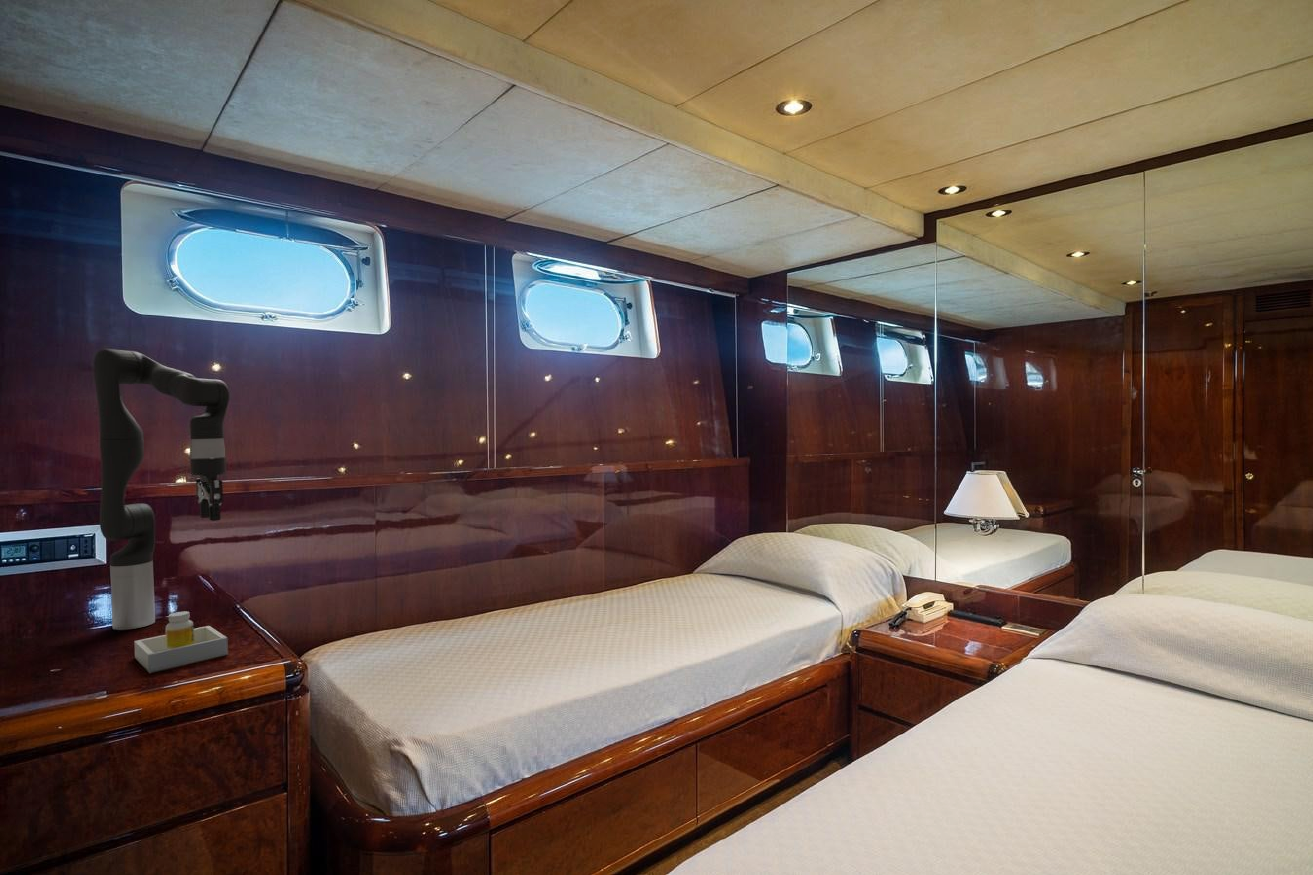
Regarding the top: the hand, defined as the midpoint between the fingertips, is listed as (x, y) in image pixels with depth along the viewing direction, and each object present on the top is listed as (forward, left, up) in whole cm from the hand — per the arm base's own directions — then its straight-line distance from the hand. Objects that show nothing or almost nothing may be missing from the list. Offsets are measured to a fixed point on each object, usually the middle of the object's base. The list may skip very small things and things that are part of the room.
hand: (210, 519), depth 173 cm
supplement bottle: (+13, -10, -30) cm, 34 cm away
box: (+13, -10, -30) cm, 34 cm away
